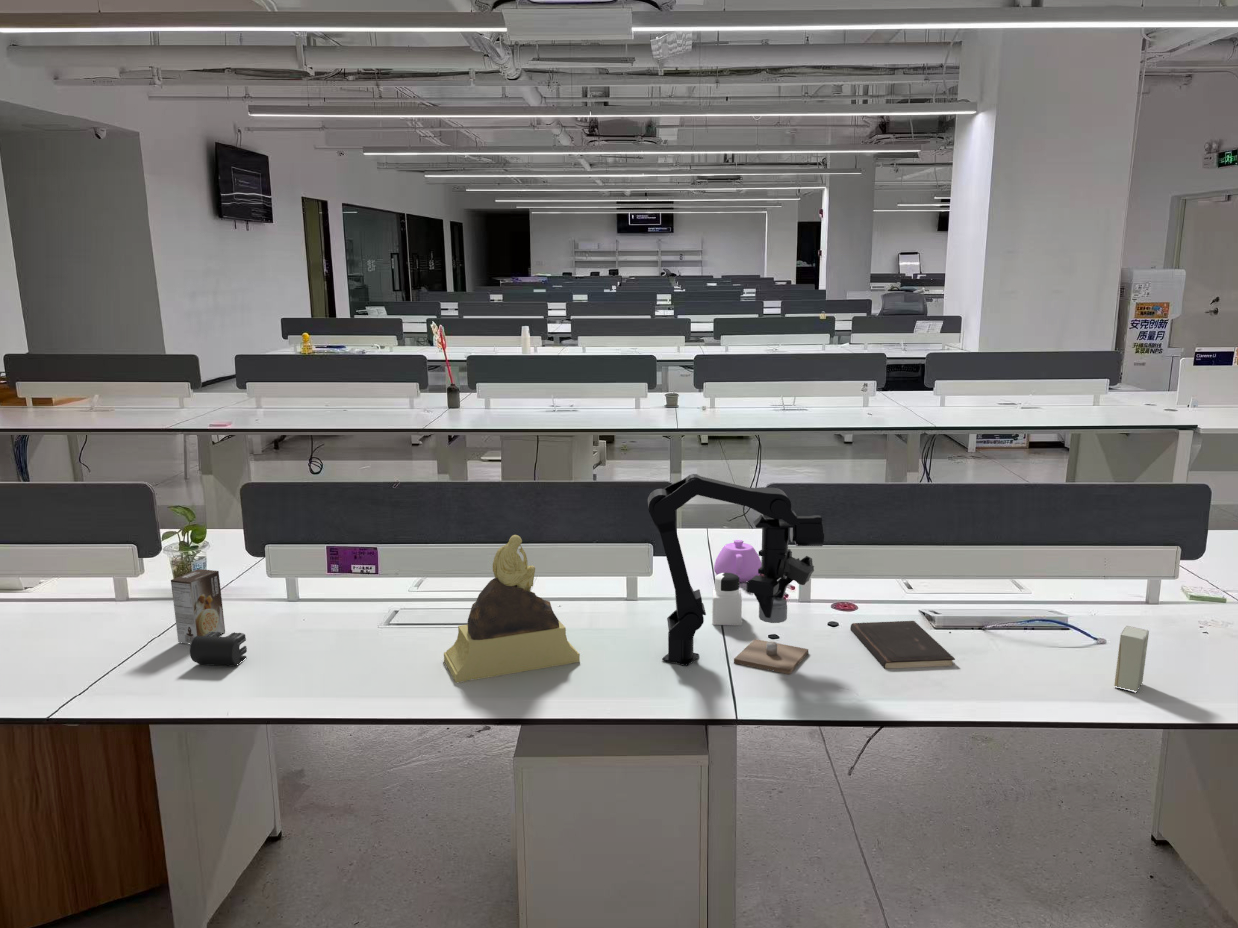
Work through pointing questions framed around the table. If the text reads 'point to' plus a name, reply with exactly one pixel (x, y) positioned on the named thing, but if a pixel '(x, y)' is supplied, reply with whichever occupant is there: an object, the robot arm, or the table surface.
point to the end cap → (218, 649)
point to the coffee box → (197, 604)
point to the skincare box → (1131, 658)
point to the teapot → (738, 561)
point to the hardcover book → (901, 644)
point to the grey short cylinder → (775, 611)
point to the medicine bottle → (727, 600)
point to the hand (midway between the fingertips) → (772, 612)
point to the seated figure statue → (509, 625)
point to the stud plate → (771, 656)
